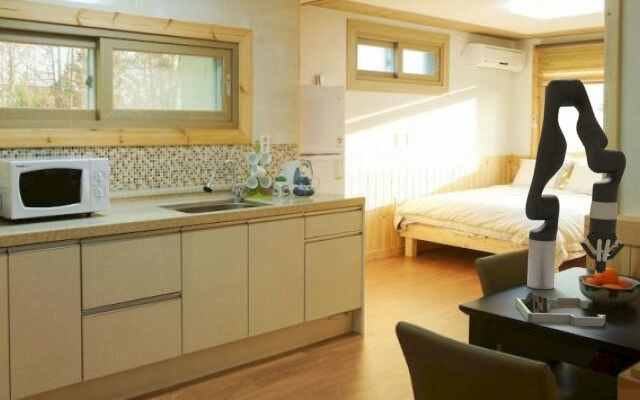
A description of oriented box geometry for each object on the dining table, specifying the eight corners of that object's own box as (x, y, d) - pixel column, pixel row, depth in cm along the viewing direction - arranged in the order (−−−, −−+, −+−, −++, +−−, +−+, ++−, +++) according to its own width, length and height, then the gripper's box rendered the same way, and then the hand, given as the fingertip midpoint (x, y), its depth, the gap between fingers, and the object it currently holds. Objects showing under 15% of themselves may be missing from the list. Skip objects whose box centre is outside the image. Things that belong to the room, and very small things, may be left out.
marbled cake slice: (556, 323, 200) (557, 289, 207) (533, 316, 200) (535, 282, 208) (542, 336, 208) (544, 303, 215) (520, 329, 208) (523, 296, 215)
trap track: (514, 303, 220) (514, 296, 219) (584, 305, 218) (584, 297, 217) (529, 324, 197) (530, 315, 197) (607, 326, 195) (608, 318, 195)
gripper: (621, 214, 206) (617, 270, 208) (577, 213, 207) (573, 269, 209) (630, 218, 198) (626, 276, 201) (584, 217, 200) (580, 275, 202)
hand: (599, 272), depth 205 cm, fingers closed
